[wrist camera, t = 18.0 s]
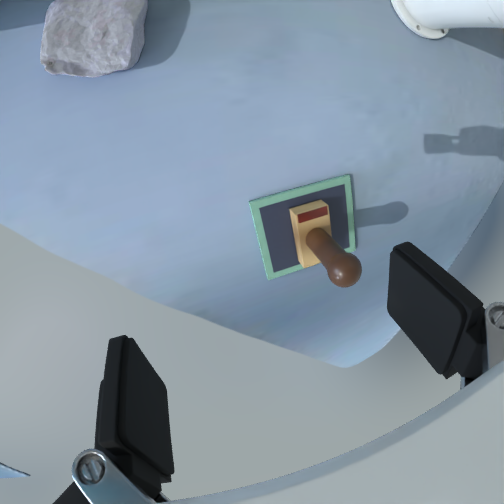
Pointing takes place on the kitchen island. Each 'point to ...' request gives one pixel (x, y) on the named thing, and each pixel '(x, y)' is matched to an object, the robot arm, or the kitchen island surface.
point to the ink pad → (280, 229)
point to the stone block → (92, 36)
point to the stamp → (322, 243)
